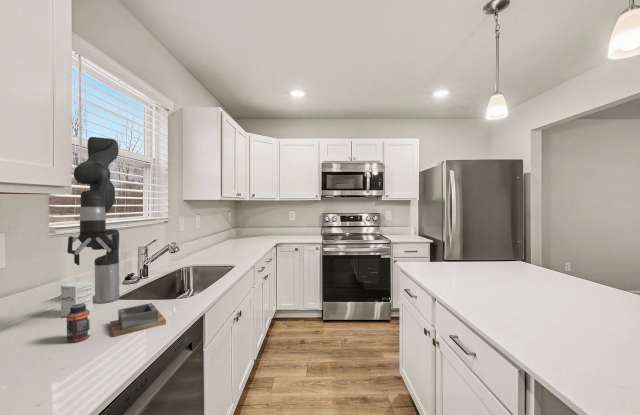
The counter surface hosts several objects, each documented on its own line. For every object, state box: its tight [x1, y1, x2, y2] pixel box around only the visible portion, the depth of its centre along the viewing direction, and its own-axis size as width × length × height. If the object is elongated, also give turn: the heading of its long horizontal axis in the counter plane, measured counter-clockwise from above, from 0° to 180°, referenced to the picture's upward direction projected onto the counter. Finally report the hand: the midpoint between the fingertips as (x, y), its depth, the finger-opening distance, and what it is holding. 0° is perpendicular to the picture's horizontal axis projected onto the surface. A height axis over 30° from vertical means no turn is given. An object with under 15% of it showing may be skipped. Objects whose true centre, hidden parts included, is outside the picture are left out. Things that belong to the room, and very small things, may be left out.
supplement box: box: [60, 280, 94, 318], centre depth 118 cm, size 7×7×13 cm
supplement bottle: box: [66, 304, 91, 343], centre depth 96 cm, size 6×6×11 cm
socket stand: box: [109, 302, 167, 338], centre depth 107 cm, size 12×16×6 cm
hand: (93, 263), depth 106 cm, fingers open, 8 cm apart
